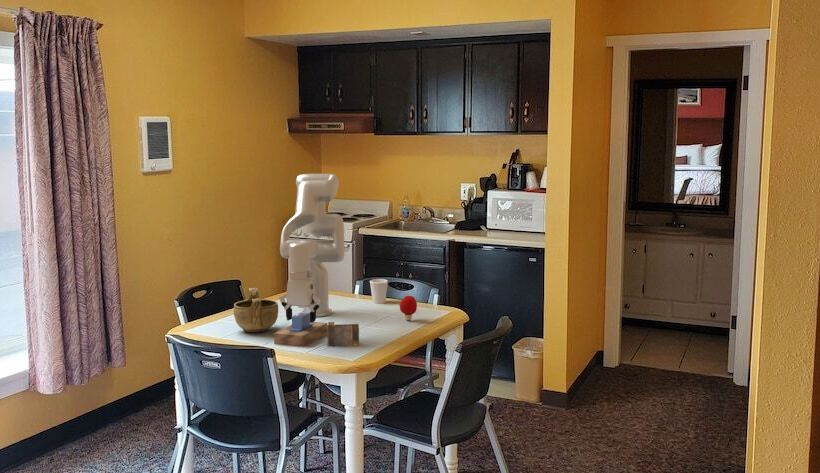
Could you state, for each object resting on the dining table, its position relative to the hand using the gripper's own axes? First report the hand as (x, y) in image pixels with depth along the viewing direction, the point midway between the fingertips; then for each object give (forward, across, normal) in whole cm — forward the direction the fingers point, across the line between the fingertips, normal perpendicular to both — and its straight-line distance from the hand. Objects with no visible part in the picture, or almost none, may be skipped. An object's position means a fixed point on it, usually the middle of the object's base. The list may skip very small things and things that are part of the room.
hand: (301, 320), depth 294 cm
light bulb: (+7, -29, -38) cm, 48 cm away
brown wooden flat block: (+7, 0, 0) cm, 7 cm away
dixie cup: (+7, -5, -66) cm, 67 cm away
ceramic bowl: (+7, +22, -5) cm, 24 cm away
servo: (+6, 0, 0) cm, 6 cm away
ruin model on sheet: (+7, -18, +3) cm, 20 cm away
